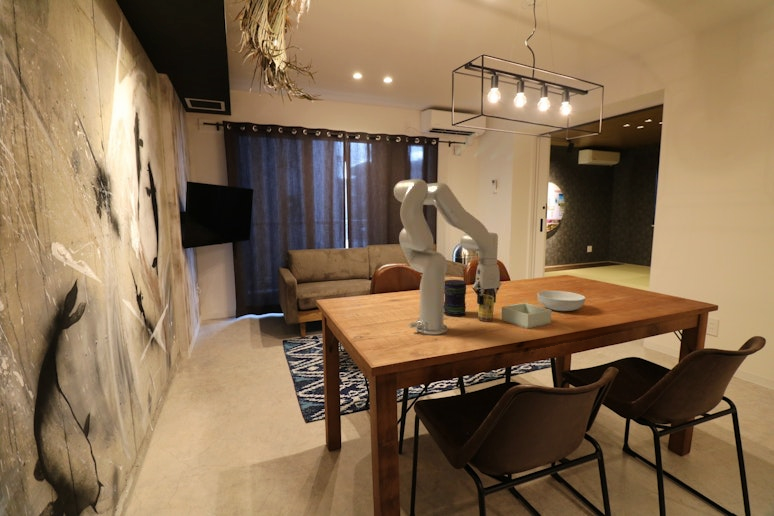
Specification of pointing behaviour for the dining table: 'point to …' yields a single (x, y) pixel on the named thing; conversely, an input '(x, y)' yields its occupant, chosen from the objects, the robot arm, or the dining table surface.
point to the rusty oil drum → (454, 298)
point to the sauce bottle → (486, 306)
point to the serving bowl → (560, 300)
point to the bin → (526, 315)
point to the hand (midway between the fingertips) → (486, 302)
